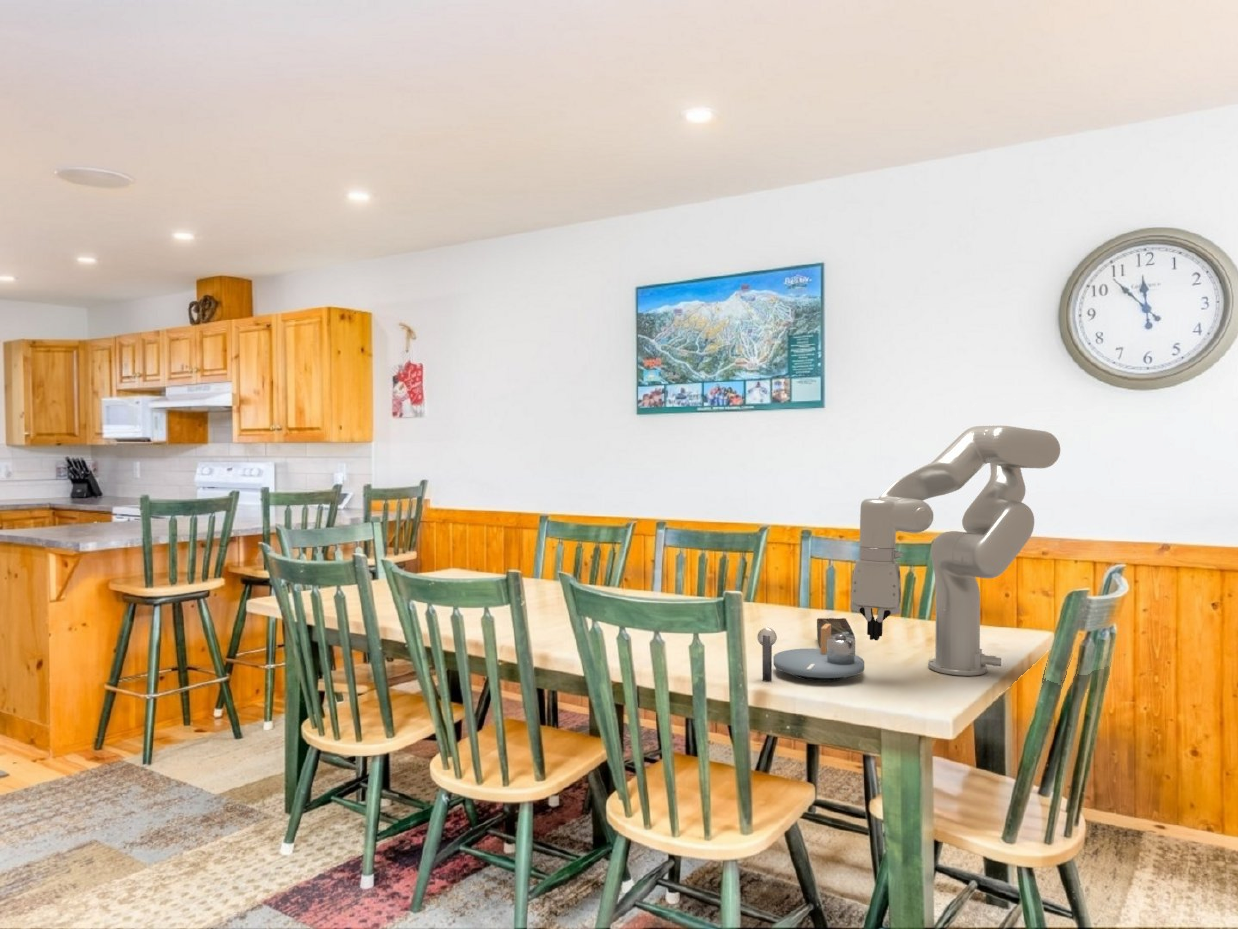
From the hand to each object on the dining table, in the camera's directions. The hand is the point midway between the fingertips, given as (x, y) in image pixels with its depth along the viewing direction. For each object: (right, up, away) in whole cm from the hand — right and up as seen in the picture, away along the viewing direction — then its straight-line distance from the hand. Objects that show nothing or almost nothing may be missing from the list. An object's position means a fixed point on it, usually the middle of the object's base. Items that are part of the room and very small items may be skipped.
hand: (874, 638), depth 189 cm
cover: (-6, -6, +4) cm, 10 cm away
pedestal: (-11, -9, +6) cm, 15 cm away
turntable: (-11, -7, +6) cm, 14 cm away
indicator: (-23, -9, +1) cm, 25 cm away
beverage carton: (-1, -9, +29) cm, 31 cm away
